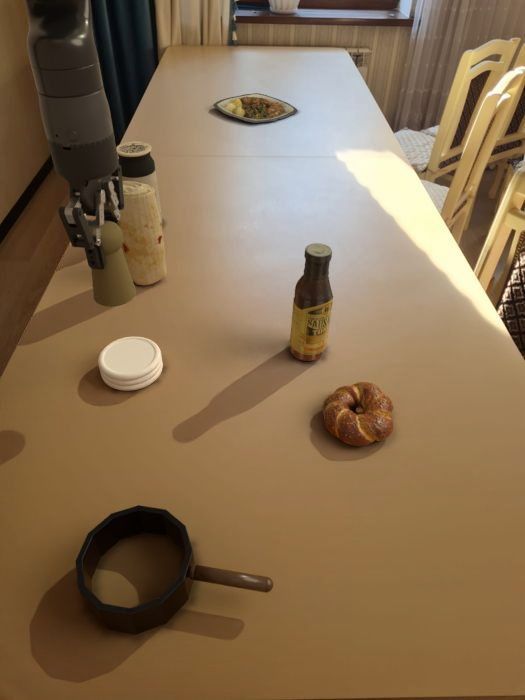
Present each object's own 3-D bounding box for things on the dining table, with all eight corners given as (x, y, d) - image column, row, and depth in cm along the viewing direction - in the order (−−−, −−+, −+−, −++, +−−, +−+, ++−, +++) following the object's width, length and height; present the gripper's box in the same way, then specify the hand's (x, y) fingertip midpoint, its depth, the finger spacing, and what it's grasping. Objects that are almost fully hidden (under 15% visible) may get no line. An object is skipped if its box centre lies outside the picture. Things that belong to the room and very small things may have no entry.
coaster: (175, 365, 90) (173, 349, 88) (133, 401, 84) (129, 385, 82) (132, 342, 94) (128, 327, 92) (88, 375, 88) (84, 360, 86)
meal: (252, 130, 172) (252, 122, 170) (204, 108, 186) (203, 101, 184) (307, 112, 185) (308, 104, 183) (258, 93, 198) (258, 86, 196)
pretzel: (333, 382, 87) (335, 366, 85) (400, 401, 84) (405, 384, 82) (311, 437, 79) (312, 420, 76) (385, 459, 76) (389, 442, 73)
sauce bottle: (306, 368, 90) (315, 267, 76) (281, 349, 93) (285, 249, 80) (334, 352, 93) (347, 251, 80) (309, 333, 96) (317, 235, 83)
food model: (171, 270, 111) (159, 177, 98) (164, 289, 106) (150, 193, 93) (125, 268, 112) (107, 175, 99) (115, 286, 107) (95, 191, 94)
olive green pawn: (145, 290, 79) (133, 221, 71) (116, 311, 75) (101, 241, 67) (113, 277, 81) (99, 210, 74) (84, 298, 77) (66, 229, 70)
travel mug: (160, 233, 122) (149, 155, 110) (124, 233, 122) (110, 155, 110) (164, 216, 128) (154, 140, 116) (131, 216, 128) (117, 140, 116)
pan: (68, 621, 59) (56, 601, 56) (110, 521, 68) (103, 499, 65) (263, 658, 57) (263, 640, 53) (280, 549, 66) (281, 527, 62)
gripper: (75, 107, 68) (101, 228, 79) (18, 151, 58) (56, 283, 69) (132, 111, 67) (150, 232, 78) (84, 156, 57) (112, 289, 68)
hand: (106, 255), depth 74 cm, fingers closed on olive green pawn, 5 cm apart
